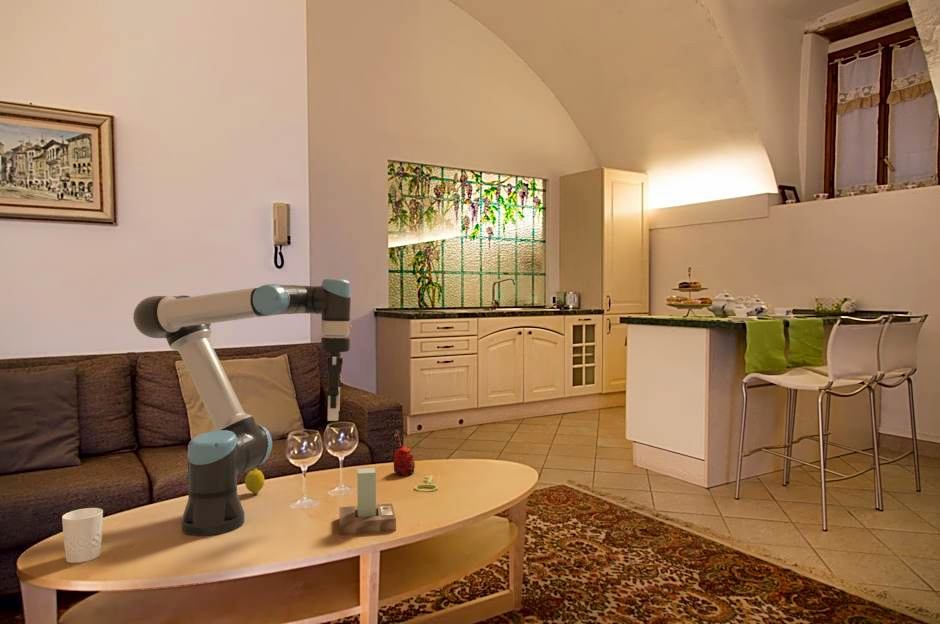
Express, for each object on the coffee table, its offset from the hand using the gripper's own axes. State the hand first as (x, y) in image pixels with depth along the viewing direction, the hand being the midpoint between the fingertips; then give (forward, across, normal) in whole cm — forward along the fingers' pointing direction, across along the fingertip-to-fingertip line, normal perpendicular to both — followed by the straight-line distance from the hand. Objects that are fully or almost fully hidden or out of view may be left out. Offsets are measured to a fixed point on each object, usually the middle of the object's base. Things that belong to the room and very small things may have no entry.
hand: (333, 415), depth 167 cm
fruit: (+28, +24, +24) cm, 44 cm away
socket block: (+27, -8, -9) cm, 30 cm away
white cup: (+29, -17, +55) cm, 64 cm away
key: (+27, +21, -28) cm, 45 cm away
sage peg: (+27, -8, -9) cm, 30 cm away
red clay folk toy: (+27, +37, -22) cm, 51 cm away
